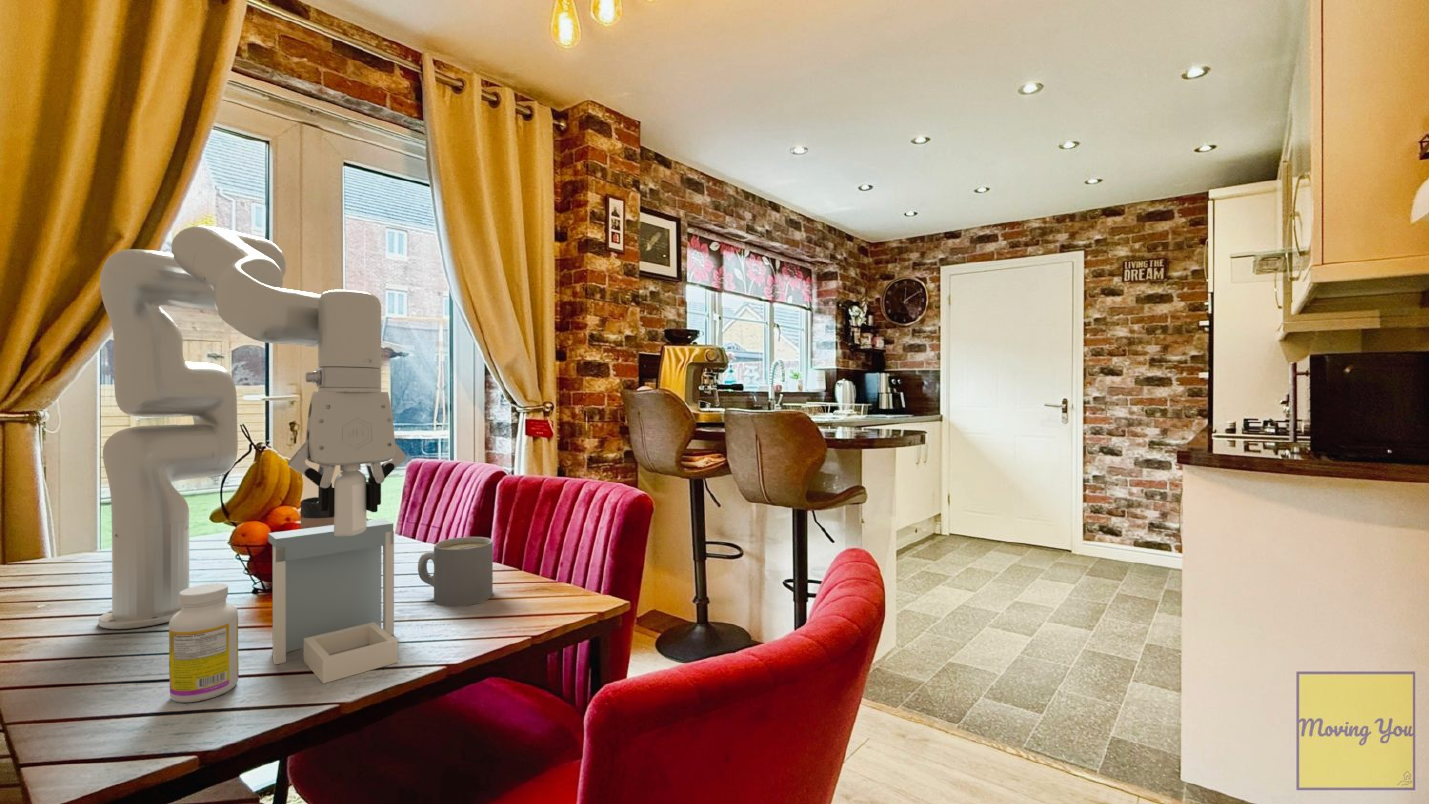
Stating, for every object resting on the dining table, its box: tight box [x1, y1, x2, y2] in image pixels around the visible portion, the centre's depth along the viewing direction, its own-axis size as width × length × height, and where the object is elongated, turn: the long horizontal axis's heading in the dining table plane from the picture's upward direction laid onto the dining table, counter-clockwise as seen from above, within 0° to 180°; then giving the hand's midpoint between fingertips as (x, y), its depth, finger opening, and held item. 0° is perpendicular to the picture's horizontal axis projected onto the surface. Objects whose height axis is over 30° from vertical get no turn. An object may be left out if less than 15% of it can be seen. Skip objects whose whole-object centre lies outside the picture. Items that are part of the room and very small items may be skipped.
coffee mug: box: [417, 536, 494, 608], centre depth 114 cm, size 13×10×10 cm
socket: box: [303, 622, 399, 684], centre depth 86 cm, size 10×9×3 cm
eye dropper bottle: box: [333, 464, 368, 536], centre depth 86 cm, size 4×6×12 cm
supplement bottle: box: [168, 583, 240, 703], centre depth 77 cm, size 7×7×13 cm
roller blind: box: [267, 518, 395, 665], centre depth 92 cm, size 5×15×17 cm, turn 135°
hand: (350, 512), depth 86 cm, fingers closed on eye dropper bottle, 4 cm apart
